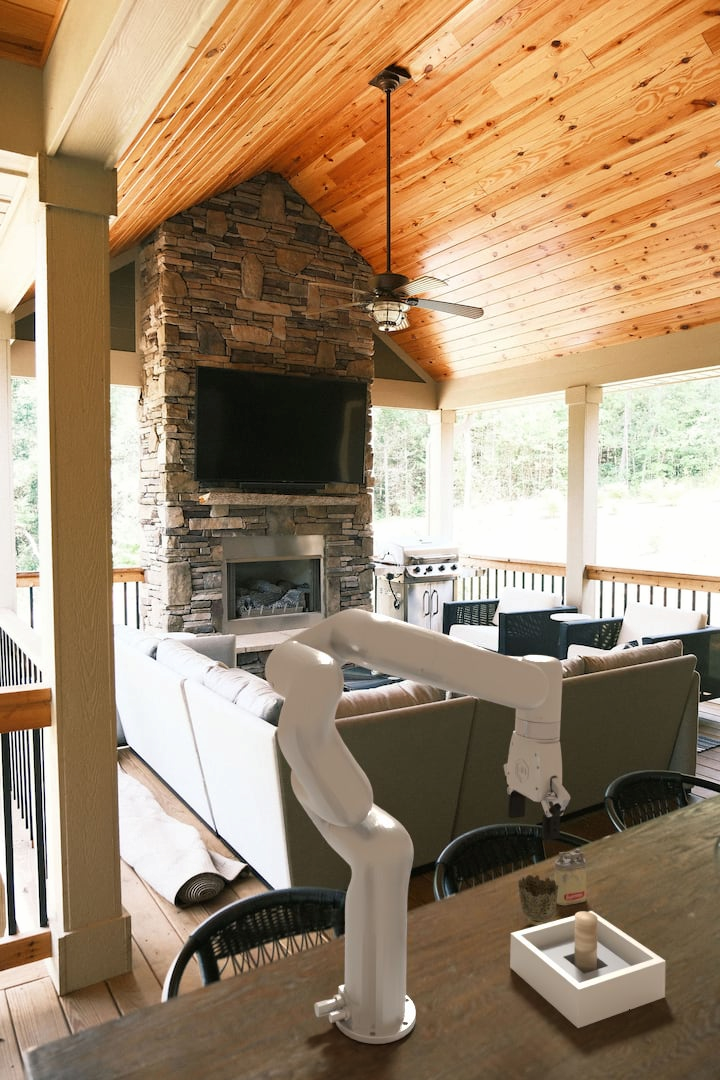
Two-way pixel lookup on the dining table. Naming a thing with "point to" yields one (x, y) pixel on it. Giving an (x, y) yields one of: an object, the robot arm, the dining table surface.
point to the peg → (585, 942)
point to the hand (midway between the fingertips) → (532, 827)
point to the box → (596, 995)
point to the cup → (538, 899)
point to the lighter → (570, 877)
